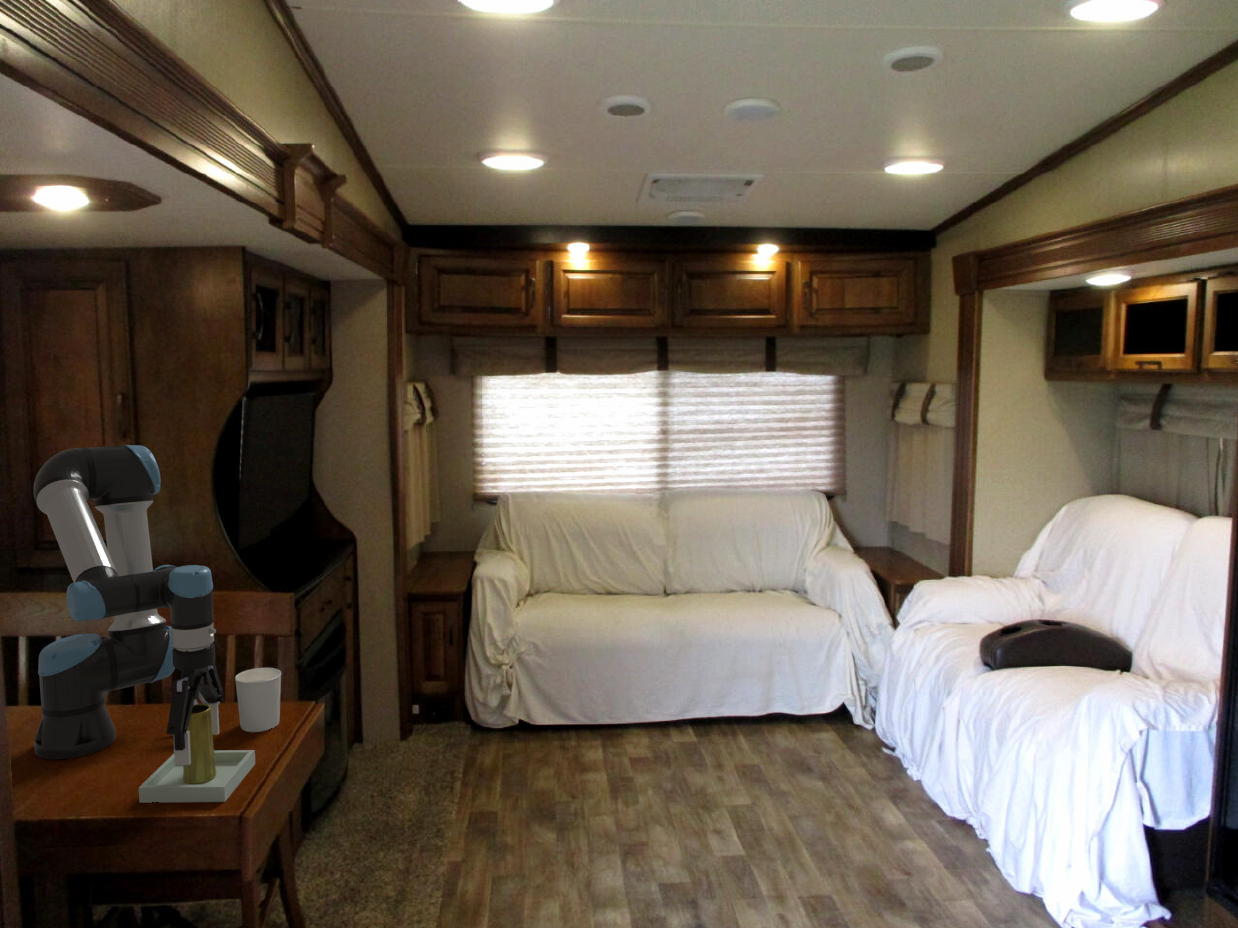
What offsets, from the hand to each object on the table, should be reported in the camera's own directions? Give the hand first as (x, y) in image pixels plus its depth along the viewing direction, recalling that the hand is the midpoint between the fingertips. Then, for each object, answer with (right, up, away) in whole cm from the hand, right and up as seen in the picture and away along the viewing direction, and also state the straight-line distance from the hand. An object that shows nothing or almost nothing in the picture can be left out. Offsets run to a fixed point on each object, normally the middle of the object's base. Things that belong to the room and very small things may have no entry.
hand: (197, 748), depth 177 cm
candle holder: (+1, -4, +28) cm, 29 cm away
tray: (0, -7, +1) cm, 7 cm away
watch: (-11, -4, +26) cm, 29 cm away
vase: (0, -6, +1) cm, 6 cm away
